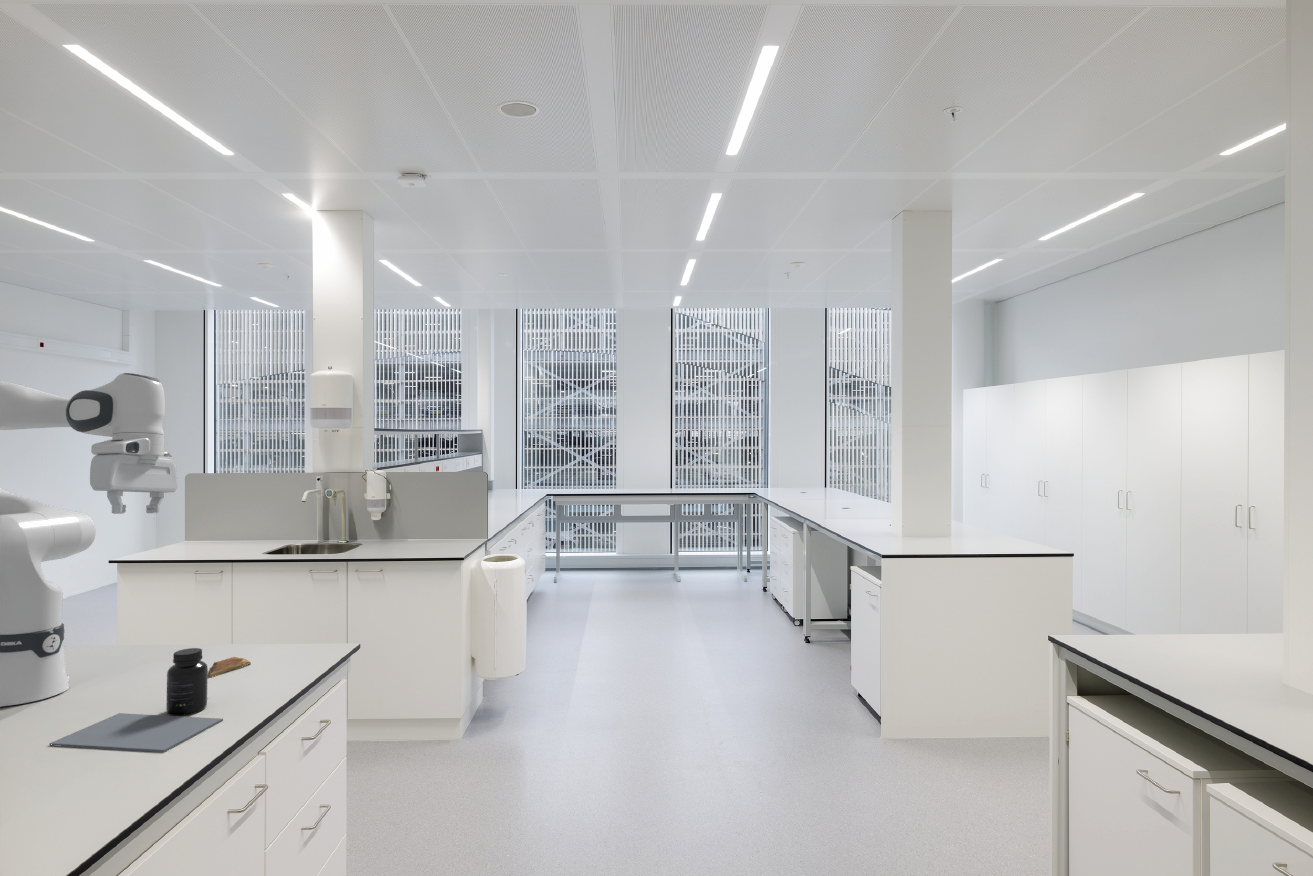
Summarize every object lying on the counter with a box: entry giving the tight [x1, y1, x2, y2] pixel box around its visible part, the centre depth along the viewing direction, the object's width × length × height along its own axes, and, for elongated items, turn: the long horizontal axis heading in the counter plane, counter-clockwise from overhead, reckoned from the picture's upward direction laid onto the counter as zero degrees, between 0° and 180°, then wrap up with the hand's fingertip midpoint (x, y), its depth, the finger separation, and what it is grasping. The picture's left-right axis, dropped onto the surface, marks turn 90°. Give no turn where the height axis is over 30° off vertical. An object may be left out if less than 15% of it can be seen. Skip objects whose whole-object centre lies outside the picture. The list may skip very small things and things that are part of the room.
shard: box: [208, 656, 252, 678], centre depth 162 cm, size 11×8×2 cm
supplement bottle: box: [165, 647, 209, 717], centre depth 136 cm, size 7×7×12 cm
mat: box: [49, 712, 224, 753], centre depth 125 cm, size 22×14×1 cm, turn 85°
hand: (136, 513), depth 142 cm, fingers open, 8 cm apart
